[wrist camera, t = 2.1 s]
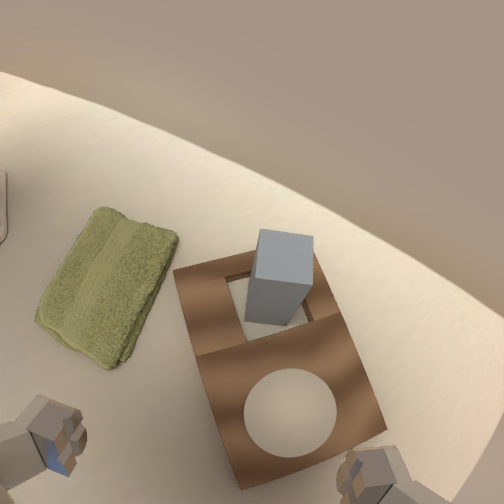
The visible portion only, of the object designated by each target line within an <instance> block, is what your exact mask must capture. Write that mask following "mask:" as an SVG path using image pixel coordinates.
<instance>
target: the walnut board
mask: <svg viewBox="0 0 504 504" xmlns="http://www.w3.org/2000/svg"><path fill="white" fill-rule="evenodd" d="M255 252H256V250H254V251H250V252H246V253H242V254H238V255H233V256H229V257H225V258H221V259H217V260H213V261H209V262H205V263H201V264H197V265H192V266H188V267H184V268H180V269H176V270H173V274H174V278H175V282H176V286H177V290H178V294H179V298H180V302H181V306H182V310H183V314H184V318H185V321H186V325H187V329H188V332H189V336H190V340H191V343H192V347H193V350H194V354H195V357H196V361H197V364H198V367H199V371H200V374H201V377H202V380H203V384H204V387H205V390H206V393H207V396H208V399H209V403H210V406H211V409H212V412H213V415H214V418H215V421H216V424H217V427H218V429H219V432H220V435H221V438H222V441H223V444H224V447H225V449H226V452H227V455H228V458H229V460H230V463H231V466H232V468H233V471H234V474H235V476H236V479H237V481H238V484H239V486H240V489H241V490H243V489H247V488H250V487H253V486H257V485H260V484H263V483H266V482H269V481H272V480H275V479H278V478H281V477H284V476H286V475H289V474H292V473H295V472H297V471H300V470H302V469H305V468H307V467H310V466H312V465H315V464H317V463H320V462H322V461H324V460H327V459H329V458H331V457H333V456H336V455H338V454H340V453H342V452H344V451H346V450H348V449H351V448H353V447H355V446H357V445H359V444H361V443H363V442H365V441H367V440H369V439H370V438H372V437H374V436H376V435H378V434H380V433H382V432H384V431H385V430H387V426H386V424H385V421H384V418H383V416H382V413H381V410H380V408H379V405H378V402H377V400H376V397H375V395H374V392H373V390H372V387H371V384H370V382H369V379H368V377H367V374H366V372H365V369H364V367H363V364H362V362H361V359H360V357H359V355H358V352H357V350H356V347H355V345H354V342H353V340H352V338H351V335H350V333H349V331H348V328H347V326H346V323H345V321H344V319H343V317H342V314H341V312H340V310H339V307H338V305H337V303H336V300H335V298H334V296H333V294H332V291H331V289H330V287H329V285H328V282H327V280H326V278H325V276H324V274H323V271H322V269H321V267H320V265H319V263H318V260H317V258H316V256H315V254H314V252H313V286H312V287H311V289H310V290H309V292H308V293H307V295H306V296H305V298H304V300H303V301H302V303H301V304H302V306H303V309H304V311H305V314H306V316H307V318H308V321H309V323H306V324H303V325H300V326H297V327H294V328H291V329H288V330H285V331H282V332H279V333H275V334H272V335H269V336H266V337H262V338H259V339H256V340H253V341H249V342H246V340H245V337H244V334H243V331H242V328H241V325H240V322H239V319H238V316H237V313H236V310H235V307H234V304H233V301H232V298H231V295H230V292H229V289H228V286H227V283H226V282H230V281H234V280H238V279H242V278H246V277H249V276H250V275H251V271H252V266H253V261H254V256H255ZM282 369H301V370H305V371H308V372H311V373H313V374H315V375H316V376H318V377H319V378H321V379H322V380H323V381H324V382H325V383H326V384H327V386H328V387H329V388H330V390H331V391H332V394H333V396H334V399H335V402H336V408H337V415H336V421H335V425H334V428H333V430H332V432H331V434H330V436H329V437H328V439H327V440H326V441H325V442H324V443H323V444H322V445H321V446H320V447H319V448H317V449H316V450H314V451H313V452H311V453H308V454H306V455H303V456H299V457H290V458H288V457H280V456H276V455H273V454H270V453H268V452H266V451H264V450H263V449H262V448H260V447H259V446H258V445H257V444H256V443H255V442H254V441H253V440H252V439H251V437H250V435H249V434H248V432H247V429H246V426H245V423H244V406H245V402H246V399H247V397H248V395H249V393H250V391H251V390H252V388H253V387H254V386H255V385H256V384H257V383H258V382H259V381H260V380H261V379H262V378H264V377H265V376H267V375H268V374H270V373H272V372H275V371H278V370H282Z"/></svg>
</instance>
